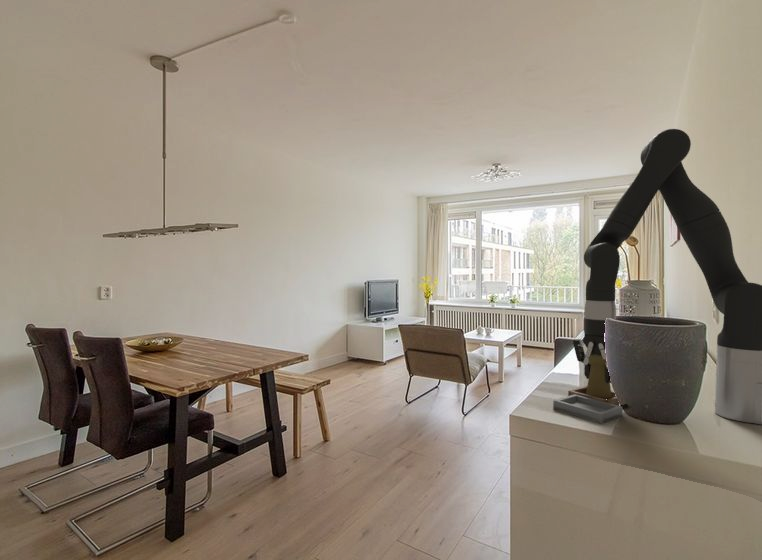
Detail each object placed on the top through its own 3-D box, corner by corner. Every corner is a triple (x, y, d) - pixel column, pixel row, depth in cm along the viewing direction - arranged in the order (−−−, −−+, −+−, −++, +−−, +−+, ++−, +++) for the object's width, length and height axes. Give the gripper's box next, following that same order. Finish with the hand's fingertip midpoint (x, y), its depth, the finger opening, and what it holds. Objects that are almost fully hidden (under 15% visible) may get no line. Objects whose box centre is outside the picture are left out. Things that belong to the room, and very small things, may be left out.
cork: (616, 398, 104) (617, 356, 104) (593, 397, 104) (593, 355, 104) (603, 391, 110) (604, 352, 110) (582, 391, 110) (582, 351, 110)
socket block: (626, 404, 106) (626, 394, 106) (607, 410, 100) (608, 401, 100) (587, 394, 115) (588, 385, 115) (568, 399, 109) (568, 390, 109)
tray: (622, 416, 96) (622, 407, 96) (601, 423, 91) (602, 414, 91) (574, 402, 106) (574, 394, 106) (553, 408, 101) (553, 400, 101)
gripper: (635, 319, 103) (634, 384, 103) (581, 314, 115) (580, 373, 115) (621, 320, 99) (620, 388, 99) (566, 315, 111) (566, 376, 111)
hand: (598, 380), depth 107 cm, fingers closed on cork, 4 cm apart
